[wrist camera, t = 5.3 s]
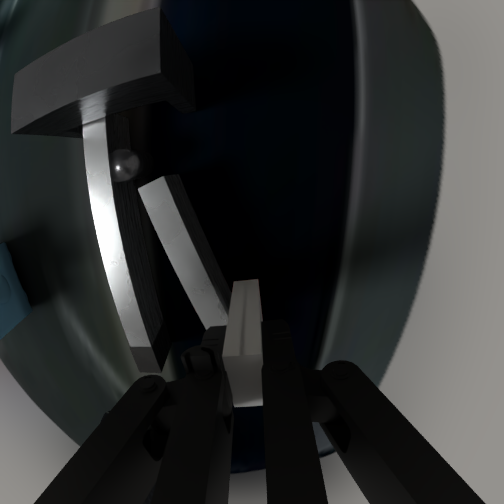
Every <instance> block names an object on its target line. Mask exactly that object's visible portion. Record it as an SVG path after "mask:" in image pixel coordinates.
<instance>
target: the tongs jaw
mask: <svg viewBox="0 0 504 504" xmlns="http://www.w3.org/2000/svg"><path fill="white" fill-rule="evenodd" d="M138 191H139V193H140V196H141V198H142V200H143V203H144V205H145V207H146V210H147V212H148V214H149V216H150V219H151V221H152V223H153V225H154V228H155V230H156V232H157V234H158V236H159V238H160V241H161V243H162V245H163V247H164V249H165V251H166V253H167V255H168V257H169V259H170V262H171V264H172V266H173V268H174V270H175V272H176V274H177V276H178V278H179V280H180V282H181V283H182V285H183V287H184V289H185V291H186V293H187V295H188V297H189V299H190V301H191V303H192V304H193V306H194V308H195V310H196V312H197V314H198V316H199V317H200V319H201V321H202V323H203V325H204V326H205V328H206V330H207V329H208V328H209V327H210V326H223V325H227V322H228V315H229V309H230V302H231V296H232V293H231V291H230V289H229V287H228V285H227V282H226V280H225V278H224V276H223V274H222V272H221V270H220V267H219V265H218V263H217V261H216V259H215V256H214V254H213V252H212V250H211V247H210V245H209V243H208V241H207V239H206V236H205V234H204V232H203V229H202V227H201V225H200V223H199V220H198V218H197V216H196V213H195V211H194V209H193V206H192V204H191V202H190V199H189V197H188V195H187V192H186V190H185V188H184V185H183V183H182V181H181V178H180V176H179V174H175V175H167V176H162V177H160V178H158V179H156V180H154V181H152V182H150V183H148V184H146V185H144V186H142V187H141V188H139V189H138Z"/></svg>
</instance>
